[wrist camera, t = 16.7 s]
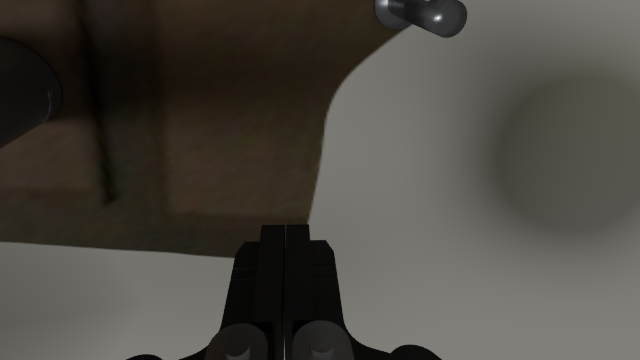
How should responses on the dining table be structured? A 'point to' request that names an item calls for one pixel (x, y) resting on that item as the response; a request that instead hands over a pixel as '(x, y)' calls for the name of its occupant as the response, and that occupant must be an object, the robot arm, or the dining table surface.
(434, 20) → the hinge post
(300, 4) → the dining table surface
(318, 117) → the dining table surface
